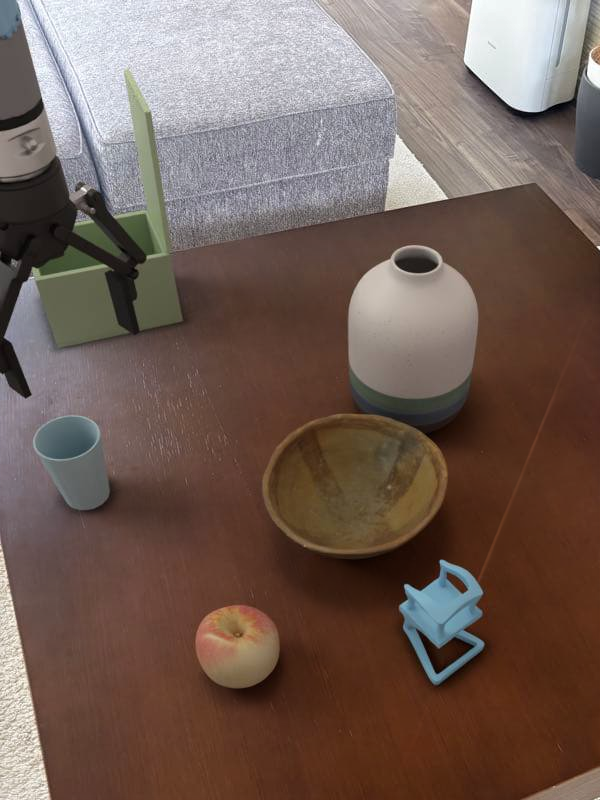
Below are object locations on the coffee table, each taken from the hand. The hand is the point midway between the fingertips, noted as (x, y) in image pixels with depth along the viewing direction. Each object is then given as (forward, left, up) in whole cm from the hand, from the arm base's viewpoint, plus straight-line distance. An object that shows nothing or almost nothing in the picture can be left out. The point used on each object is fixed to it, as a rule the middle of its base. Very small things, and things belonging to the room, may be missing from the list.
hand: (77, 358), depth 90 cm
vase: (+26, +33, -25) cm, 49 cm away
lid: (-17, +41, -3) cm, 45 cm away
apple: (+24, -14, -25) cm, 37 cm away
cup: (-6, +1, -25) cm, 26 cm away
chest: (-24, +35, -25) cm, 49 cm away
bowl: (+28, +9, -25) cm, 38 cm away
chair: (+43, -3, -25) cm, 50 cm away
